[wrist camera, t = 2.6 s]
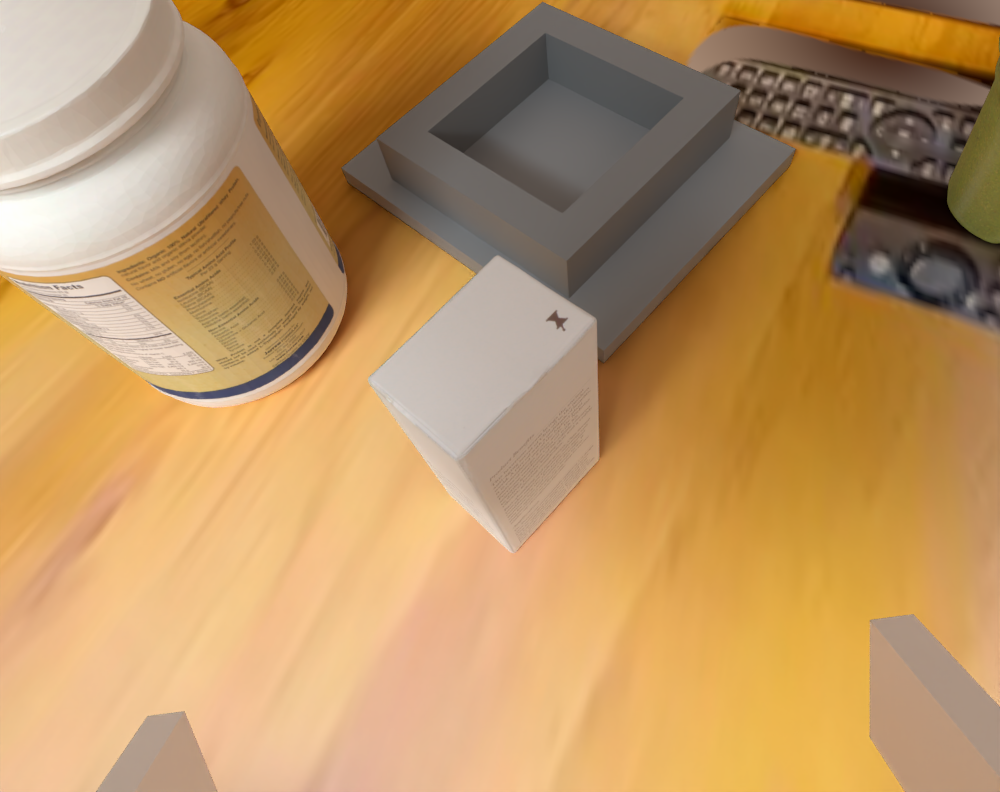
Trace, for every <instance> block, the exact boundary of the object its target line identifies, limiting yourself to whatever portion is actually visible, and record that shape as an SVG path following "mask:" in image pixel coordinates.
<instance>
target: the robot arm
mask: <svg viewBox="0 0 1000 792" xmlns="http://www.w3.org/2000/svg"><path fill="white" fill-rule="evenodd" d="M870 739H871V740H872V742H873V743H874V745H875V746H876V748H877V749H878V751H879V752H880V754H881V755H882V757H883V759H884V760H885V762H886V763H887V765H888V766H889V768H890V769H891V771H892V772H893V774H894V776H895V777H896V779H897V780H898V782H899V783H900V785H901V786H902V788H903V789H904V791H905V792H1000V707H999V705H998V704H997V703H996V702H995V701H994V700H993V699H992V698H991V697H990V696H989V695H988V694H987V693H986V692H985V691H984V689H983V688H982V687H981V686H980V685H979V684H978V683H977V682H976V681H975V680H974V679H973V678H972V677H971V676H970V674H969V673H968V672H967V671H966V670H965V669H964V668H963V667H962V666H961V665H960V664H959V663H958V662H957V661H956V659H955V658H954V657H953V656H952V655H951V654H950V653H949V652H948V651H947V650H946V649H945V648H944V647H943V646H942V645H941V643H940V642H939V641H938V640H937V639H936V638H935V637H934V636H933V635H932V634H931V633H930V632H929V631H928V630H927V628H926V627H925V626H924V625H923V624H922V623H921V622H920V621H919V620H918V619H917V618H916V617H915V616H914V615H913V614H912V615H904V616H897V617H889V618H882V619H874V620H870ZM96 792H217V789H216V787H215V784H214V782H213V779H212V777H211V775H210V772H209V770H208V767H207V765H206V762H205V760H204V758H203V755H202V753H201V750H200V748H199V745H198V743H197V741H196V738H195V736H194V733H193V731H192V728H191V726H190V724H189V721H188V719H187V716H186V714H185V711H183V712H175V713H168V714H160V715H153V716H147V718H146V719H145V721H144V722H143V724H142V725H141V726H140V728H139V729H138V731H137V732H136V734H135V735H134V737H133V738H132V740H131V741H130V743H129V744H128V746H127V747H126V748H125V750H124V751H123V753H122V754H121V756H120V757H119V759H118V760H117V762H116V763H115V765H114V766H113V768H112V769H111V770H110V772H109V773H108V775H107V776H106V778H105V779H104V781H103V782H102V784H101V785H100V787H99V788H98V790H97V791H96Z"/></svg>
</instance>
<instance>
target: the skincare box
mask: <svg viewBox="0 0 1000 792" xmlns="http://www.w3.org/2000/svg"><path fill="white" fill-rule="evenodd" d="M368 382H369V384H370V386H371V387H372V388H373V390H374V391H375V392H376V394H377V395H378V397H379V398H380V399H381V401H382V402H383V403H384V405H385V406H386V407H387V409H388V410H389V412H390V413H391V414H392V416H393V417H394V419H395V420H396V421H397V423H398V424H399V425H400V427H401V428H402V430H403V431H404V432H405V433H406V435H407V436H408V438H409V439H410V440H411V442H412V443H413V444H414V446H415V447H416V449H417V450H418V452H419V453H420V454H421V456H422V457H423V458H424V460H425V461H426V463H427V464H428V465H429V467H430V468H431V470H432V471H433V472H434V474H435V475H436V476H437V478H438V479H439V481H440V482H441V483H442V485H443V486H444V488H445V489H446V490H447V492H448V493H449V495H450V496H451V497H452V498H453V499H454V500H455V501H457V502H458V503H459V504H460V505H461V506H462V507H463V508H464V509H465V510H466V511H467V512H468V513H469V514H470V515H471V516H472V517H474V518H475V519H476V520H477V521H478V522H479V523H480V524H481V525H482V526H483V527H484V528H485V529H486V530H487V531H488V532H489V533H490V534H491V535H492V536H493V537H494V538H495V539H497V540H498V541H499V542H500V543H501V544H502V545H503V546H504V547H505V548H506V549H507V550H508V551H510V552H511V553H515V552H516V551H517V550H518V549H519V548H520V547H521V546H522V545H523V543H524V542H525V541H526V540H527V539H528V538H529V537H530V536H531V535H532V534H533V532H534V531H535V530H536V529H537V528H538V527H539V526H540V525H541V524H542V523H543V521H544V520H545V519H546V518H547V517H548V516H549V515H550V514H551V512H552V511H553V510H554V509H555V508H556V507H557V506H558V505H559V504H560V502H561V501H562V500H563V499H564V498H565V497H566V496H567V495H568V494H569V493H570V491H571V490H572V489H573V488H574V487H575V486H576V485H577V484H578V482H579V481H580V480H581V479H582V478H583V477H584V476H585V475H586V474H587V472H588V471H589V470H590V469H591V468H592V467H593V466H594V465H595V464H596V463H597V462H598V460H599V458H600V455H599V410H598V409H599V403H598V353H597V320H596V318H595V317H594V316H592V315H590V314H589V313H587V312H586V311H584V310H583V309H581V308H579V307H578V306H576V305H575V304H573V303H571V302H570V301H568V300H567V299H565V298H564V297H562V296H560V295H559V294H557V293H556V292H554V291H553V290H551V289H549V288H548V287H546V286H545V285H543V284H542V283H540V282H539V281H537V280H536V279H534V278H533V277H531V276H530V275H528V274H527V273H526V272H524V271H523V270H521V269H520V268H518V267H516V266H515V265H513V264H512V263H510V262H508V261H507V260H505V259H504V258H502V257H501V256H499V255H497V256H495V257H494V258H493V259H492V260H491V261H490V262H489V263H488V264H487V265H486V266H484V267H483V268H482V269H481V270H480V271H479V272H478V273H477V274H476V275H475V276H474V277H473V278H472V279H471V280H470V281H469V282H468V283H467V284H466V285H465V286H463V287H462V288H461V289H460V290H459V291H458V292H457V293H456V294H455V295H454V296H453V297H452V298H451V299H450V300H449V301H448V302H447V303H446V304H445V305H444V306H443V307H442V308H441V309H440V310H439V311H438V312H437V313H436V314H435V315H434V316H433V317H432V318H431V319H430V320H429V321H428V322H426V323H425V324H424V325H423V326H422V327H421V328H420V329H419V330H418V331H417V332H416V333H415V334H414V335H413V336H412V337H411V338H410V339H409V340H408V341H407V342H406V343H404V344H403V345H402V346H401V347H400V348H399V349H398V350H397V351H396V352H395V353H394V354H393V355H392V356H391V357H390V358H389V359H388V360H387V361H386V362H385V363H384V364H383V365H381V366H380V367H379V368H378V369H377V370H376V371H375V372H374V373H373V374H372V375H370V377H369V378H368Z"/></svg>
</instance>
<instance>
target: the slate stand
mask: <svg viewBox="0 0 1000 792" xmlns="http://www.w3.org/2000/svg"><path fill="white" fill-rule="evenodd" d="M739 95H740V90H738V89H736V88H734V87H731V86H729V85H727V84H725V83H723V82H720V81H718V80H716V79H714V78H711V77H709V76H707V75H705V74H702V73H700V72H698V71H696V70H693V69H691V68H689V67H687V66H685V65H682V64H680V63H678V62H676V61H673V60H671V59H669V58H667V57H664V56H662V55H660V54H658V53H655V52H653V51H651V50H649V49H647V48H644V47H642V46H640V45H638V44H635V43H633V42H631V41H629V40H626V39H624V38H622V37H620V36H617V35H615V34H613V33H611V32H609V31H606V30H604V29H602V28H600V27H597V26H595V25H593V24H591V23H588V22H586V21H584V20H582V19H579V18H577V17H575V16H573V15H571V14H568V13H566V12H564V11H562V10H559V9H557V8H555V7H553V6H550V5H548V4H546V3H544V2H542V3H541V4H539V5H538V6H537V7H536V8H535V9H533V10H532V11H531V12H530V13H528V14H527V15H526V16H525V17H524V18H522V19H521V20H520V21H519V22H517V23H516V24H515V25H514V26H513V27H511V28H510V29H509V30H508V31H506V32H505V33H504V34H503V35H502V36H500V37H499V38H498V39H497V40H496V41H494V42H493V43H492V44H491V45H489V46H488V47H487V48H486V49H485V50H483V51H482V52H481V53H480V54H478V55H477V56H476V57H475V58H474V59H472V60H471V61H470V62H469V63H467V64H466V65H465V66H464V67H463V68H461V69H460V70H459V71H458V72H457V73H455V74H454V75H453V76H452V77H450V78H449V79H448V80H447V81H446V82H444V83H443V84H442V85H441V86H439V87H438V88H437V89H436V90H435V91H433V92H432V93H431V94H430V95H428V96H427V97H426V98H425V99H424V100H422V101H421V102H420V103H419V104H418V105H416V106H415V107H414V108H413V109H411V110H410V111H409V112H408V113H407V114H405V115H404V116H403V117H402V118H400V119H399V120H398V121H397V122H396V123H394V124H393V125H392V126H391V127H389V128H388V129H387V130H386V131H385V132H383V133H382V134H381V135H380V136H379V137H377V138H376V140H375V141H374V142H372V143H371V144H370V145H369V146H367V147H366V148H365V149H364V150H363V151H361V152H360V153H359V154H358V155H356V156H355V157H354V158H353V159H352V160H350V161H349V162H348V163H347V164H345V165H344V166H343V167H342V168H341V169H342V171H343V173H344V175H345V177H346V179H347V181H348V183H349V184H351V185H352V186H353V187H355V188H356V189H358V190H359V191H360V192H362V193H363V194H365V195H366V196H368V197H369V198H370V199H372V200H373V201H375V202H376V203H377V204H379V205H380V206H382V207H383V208H385V209H386V210H387V211H389V212H390V213H392V214H393V215H394V216H396V217H397V218H399V219H400V220H402V221H403V222H404V223H406V224H407V225H409V226H410V227H411V228H413V229H414V230H416V231H417V232H419V233H420V234H421V235H423V236H424V237H426V238H427V239H429V240H430V241H431V242H433V243H434V244H436V245H437V246H438V247H440V248H441V249H443V250H444V251H446V252H447V253H448V254H450V255H451V256H453V257H454V258H455V259H457V260H458V261H460V262H461V263H463V264H464V265H465V266H467V267H468V268H470V269H471V270H472V271H474V272H475V273H478V272H479V271H480V270H481V269H482V268H483V267H484V266H486V265H487V264H488V263H489V262H490V261H491V260H492V259H493V258H494V257H495V256H497V255H499V256H501V257H502V258H504V259H505V260H507V261H508V262H510V263H512V264H513V265H515V266H516V267H518V268H520V269H521V270H523V271H524V272H526V273H527V274H528V275H530V276H531V277H533V278H534V279H536V280H537V281H539V282H540V283H542V284H543V285H545V286H546V287H548V288H549V289H551V290H553V291H554V292H556V293H557V294H559V295H560V296H562V297H564V298H565V299H567V300H568V301H570V302H571V303H573V304H575V305H576V306H578V307H579V308H581V309H583V310H584V311H586V312H587V313H589V314H590V315H592V316H594V317H595V318H596V320H597V353H598V359H599V360H600V361H601V362H603V363H604V362H605V361H606V360H607V359H608V358H609V357H610V356H611V355H612V354H613V353H614V352H615V351H616V350H617V349H618V347H619V346H620V345H621V344H622V343H623V342H624V341H625V340H626V339H627V338H628V337H629V336H630V335H631V334H632V333H633V332H634V331H635V329H636V328H637V327H638V326H639V325H640V324H641V323H642V322H643V321H644V320H645V319H646V318H647V317H648V316H649V315H650V314H651V313H652V311H653V310H654V309H655V308H656V307H657V306H658V305H659V304H660V303H661V302H662V301H663V300H664V299H665V298H666V297H667V296H668V294H669V293H670V292H671V291H672V290H673V289H674V288H675V287H676V286H677V285H678V284H679V283H680V282H681V281H682V280H683V279H684V278H685V276H686V275H687V274H688V273H689V272H690V271H691V270H692V269H693V268H694V267H695V266H696V265H697V264H698V263H699V262H700V261H701V260H702V258H703V257H704V256H705V255H706V254H707V253H708V252H709V251H710V250H711V249H712V248H713V247H714V246H715V245H716V244H717V243H718V242H719V240H720V239H721V238H722V237H723V236H724V235H725V234H726V233H727V232H728V231H729V230H730V229H731V228H732V227H733V226H734V225H735V224H736V222H737V221H738V220H739V219H740V218H741V217H742V216H743V215H744V214H745V213H746V212H747V211H748V210H749V209H750V208H751V207H752V205H753V204H754V203H755V202H756V201H757V200H758V199H759V198H760V197H761V196H762V195H763V194H764V193H765V192H766V191H767V190H768V189H769V187H770V186H771V185H772V184H773V183H774V182H775V181H776V180H777V179H778V178H779V177H780V176H781V175H782V174H783V173H784V172H785V171H786V169H787V168H788V167H789V166H790V164H791V161H792V159H793V156H794V153H795V150H796V149H795V148H793V147H791V146H789V145H787V144H784V143H782V142H780V141H778V140H776V139H774V138H772V137H770V136H767V135H765V134H763V133H761V132H759V131H757V130H755V129H753V128H750V127H748V126H746V125H744V124H742V123H740V122H738V121H735V120H734V117H735V113H736V108H737V104H738V100H739Z"/></svg>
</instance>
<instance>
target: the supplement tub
mask: <svg viewBox="0 0 1000 792" xmlns="http://www.w3.org/2000/svg"><path fill="white" fill-rule="evenodd" d="M0 275H1V276H3V277H4V278H5V279H7V280H8V281H9V282H11V283H12V284H13V285H15V286H16V287H17V288H19V289H20V290H21V291H23V292H24V293H25V294H27V295H28V296H30V297H31V298H32V299H34V300H35V301H36V302H38V303H39V304H40V305H42V306H43V307H45V308H46V309H47V310H49V311H50V312H51V313H53V314H54V315H56V316H57V317H58V318H60V319H61V320H62V321H64V322H65V323H66V324H68V325H69V326H71V327H72V328H73V329H75V330H76V331H77V332H79V333H80V334H82V335H83V336H84V337H86V338H87V339H88V340H90V341H91V342H93V343H94V344H95V345H97V346H98V347H99V348H101V349H102V350H104V351H105V352H106V353H108V354H109V355H110V356H112V357H113V358H115V359H116V360H117V361H119V362H120V363H122V364H123V365H124V366H126V367H127V368H129V369H130V370H131V371H133V372H134V373H136V374H137V375H138V376H140V377H141V378H143V379H144V380H145V381H147V382H148V383H149V384H150V385H152V386H153V387H154V388H156V389H157V390H159V391H160V392H162V393H164V394H166V395H168V396H171V397H173V398H175V399H178V400H180V401H183V402H186V403H189V404H193V405H197V406H203V407H213V408H216V407H229V406H236V405H240V404H245V403H249V402H252V401H255V400H258V399H261V398H263V397H266V396H268V395H270V394H272V393H275V392H277V391H278V390H280V389H282V388H284V387H285V386H287V385H289V384H290V383H292V382H293V381H294V380H296V379H297V378H298V377H300V376H301V375H302V374H304V373H305V372H306V371H307V370H308V369H309V368H310V367H311V366H312V365H313V364H314V363H315V362H316V361H317V360H318V359H319V358H320V356H321V355H322V354H323V353H324V351H325V350H326V349H327V347H328V346H329V344H330V343H331V341H332V339H333V337H334V336H335V334H336V332H337V330H338V327H339V325H340V323H341V320H342V317H343V315H344V311H345V307H346V299H347V279H346V273H345V269H344V264H343V260H342V257H341V254H340V252H339V250H338V248H337V246H336V245H335V243H334V242H333V240H332V238H331V237H330V235H329V233H328V232H327V230H326V228H325V226H324V224H323V222H322V221H321V219H320V217H319V215H318V213H317V212H316V210H315V208H314V206H313V204H312V203H311V201H310V199H309V197H308V195H307V193H306V192H305V190H304V188H303V186H302V185H301V183H300V181H299V179H298V177H297V176H296V174H295V172H294V170H293V168H292V167H291V165H290V163H289V161H288V160H287V158H286V156H285V154H284V152H283V151H282V149H281V147H280V145H279V144H278V142H277V140H276V138H275V136H274V135H273V133H272V131H271V129H270V128H269V126H268V124H267V122H266V120H265V119H264V117H263V115H262V113H261V112H260V110H259V108H258V106H257V105H256V103H255V101H254V99H253V97H252V96H251V94H250V92H249V91H248V89H247V87H246V85H245V83H244V81H243V78H242V76H241V74H240V73H239V71H238V69H237V68H236V67H235V65H234V64H233V63H232V62H231V60H230V59H229V57H228V56H227V55H226V54H225V52H224V51H223V50H222V49H221V48H220V47H219V45H218V44H216V43H215V42H214V41H213V40H212V39H211V38H210V37H209V36H207V35H206V34H205V33H203V32H202V31H200V30H199V29H197V28H196V27H194V26H192V25H190V24H189V23H187V22H184V21H182V18H181V15H180V13H179V11H178V9H177V8H176V6H175V5H174V3H173V1H172V0H0Z"/></svg>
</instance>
